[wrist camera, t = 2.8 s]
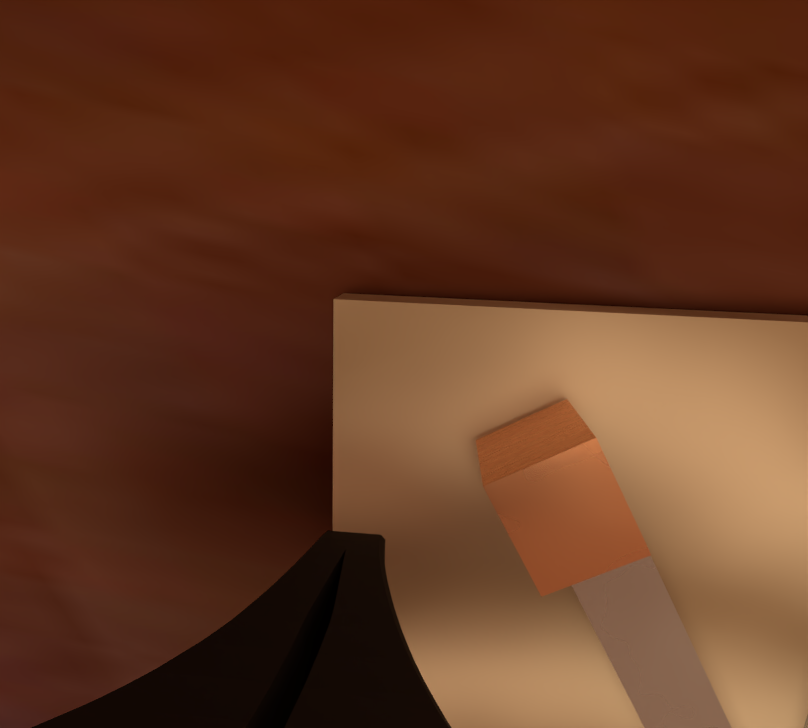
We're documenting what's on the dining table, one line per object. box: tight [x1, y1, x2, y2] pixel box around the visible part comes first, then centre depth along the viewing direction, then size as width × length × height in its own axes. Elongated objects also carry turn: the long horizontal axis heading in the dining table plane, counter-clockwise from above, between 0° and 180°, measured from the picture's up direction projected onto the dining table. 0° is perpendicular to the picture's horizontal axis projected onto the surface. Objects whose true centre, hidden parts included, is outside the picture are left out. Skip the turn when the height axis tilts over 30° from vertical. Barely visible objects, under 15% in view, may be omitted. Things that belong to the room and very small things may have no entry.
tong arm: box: [476, 399, 731, 728], centre depth 11 cm, size 12×2×2 cm, turn 28°
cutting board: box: [333, 293, 808, 728], centre depth 13 cm, size 15×18×1 cm
